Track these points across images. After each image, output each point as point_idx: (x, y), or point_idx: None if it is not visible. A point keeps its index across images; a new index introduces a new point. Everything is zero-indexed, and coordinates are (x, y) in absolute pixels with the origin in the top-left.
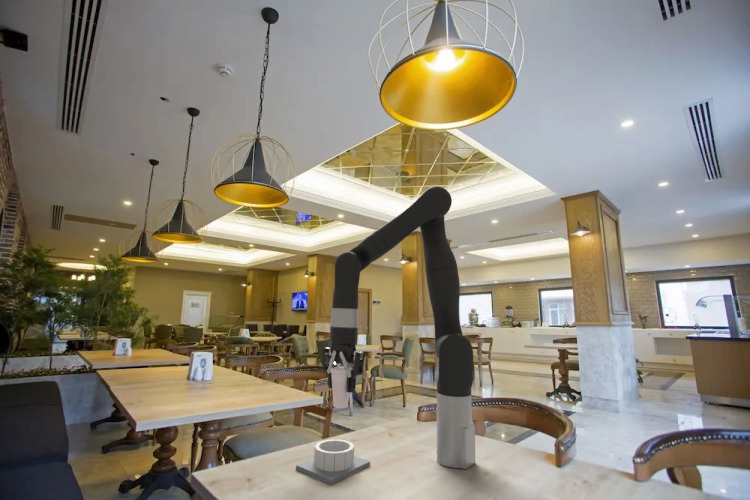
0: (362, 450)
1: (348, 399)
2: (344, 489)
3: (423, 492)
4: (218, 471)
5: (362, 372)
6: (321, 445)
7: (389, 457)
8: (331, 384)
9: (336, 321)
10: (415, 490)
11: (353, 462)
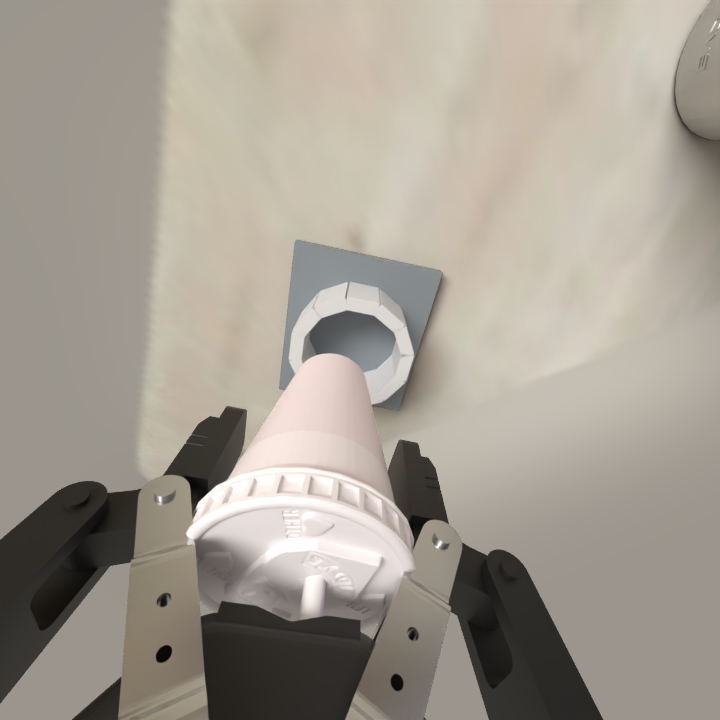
0: (359, 153)
1: (369, 396)
2: (434, 408)
3: (613, 345)
4: (160, 455)
5: (528, 576)
6: (302, 355)
7: (479, 165)
8: (235, 456)
9: None
10: (592, 344)
11: (403, 314)
